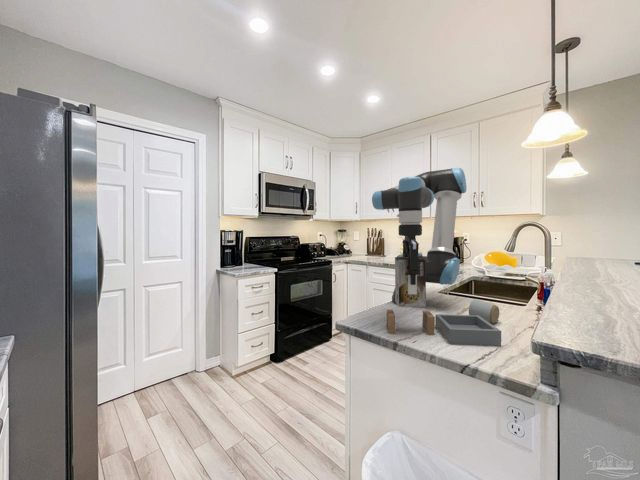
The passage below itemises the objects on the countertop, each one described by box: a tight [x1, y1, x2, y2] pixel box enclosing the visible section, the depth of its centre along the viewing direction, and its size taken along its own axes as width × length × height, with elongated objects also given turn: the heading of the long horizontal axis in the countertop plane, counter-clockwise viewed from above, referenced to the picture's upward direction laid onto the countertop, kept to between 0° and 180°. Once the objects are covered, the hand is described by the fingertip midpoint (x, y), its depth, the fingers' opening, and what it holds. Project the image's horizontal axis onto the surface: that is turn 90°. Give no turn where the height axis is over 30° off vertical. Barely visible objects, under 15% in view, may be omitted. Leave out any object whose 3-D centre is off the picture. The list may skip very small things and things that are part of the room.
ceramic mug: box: [468, 298, 500, 325], centre depth 102 cm, size 11×8×8 cm
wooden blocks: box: [385, 308, 435, 336], centre depth 93 cm, size 7×14×6 cm, turn 83°
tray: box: [434, 313, 502, 347], centre depth 88 cm, size 14×14×4 cm
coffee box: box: [394, 256, 427, 308], centre depth 92 cm, size 9×6×16 cm
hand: (409, 291), depth 93 cm, fingers closed on coffee box, 6 cm apart
